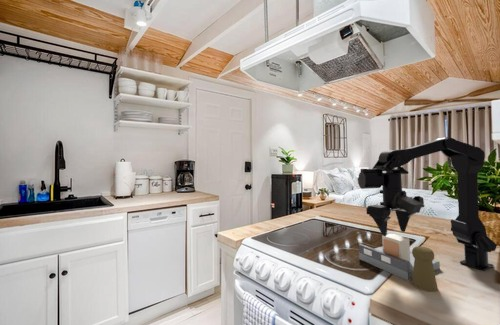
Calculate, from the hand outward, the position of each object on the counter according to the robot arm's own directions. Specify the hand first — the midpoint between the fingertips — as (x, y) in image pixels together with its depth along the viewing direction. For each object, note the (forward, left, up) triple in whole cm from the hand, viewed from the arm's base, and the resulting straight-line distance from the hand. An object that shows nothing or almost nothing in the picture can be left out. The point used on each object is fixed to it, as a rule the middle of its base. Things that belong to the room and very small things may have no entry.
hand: (393, 233), depth 80 cm
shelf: (-4, -2, -12) cm, 12 cm away
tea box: (0, 0, -9) cm, 9 cm away
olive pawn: (+3, +11, -12) cm, 17 cm away
